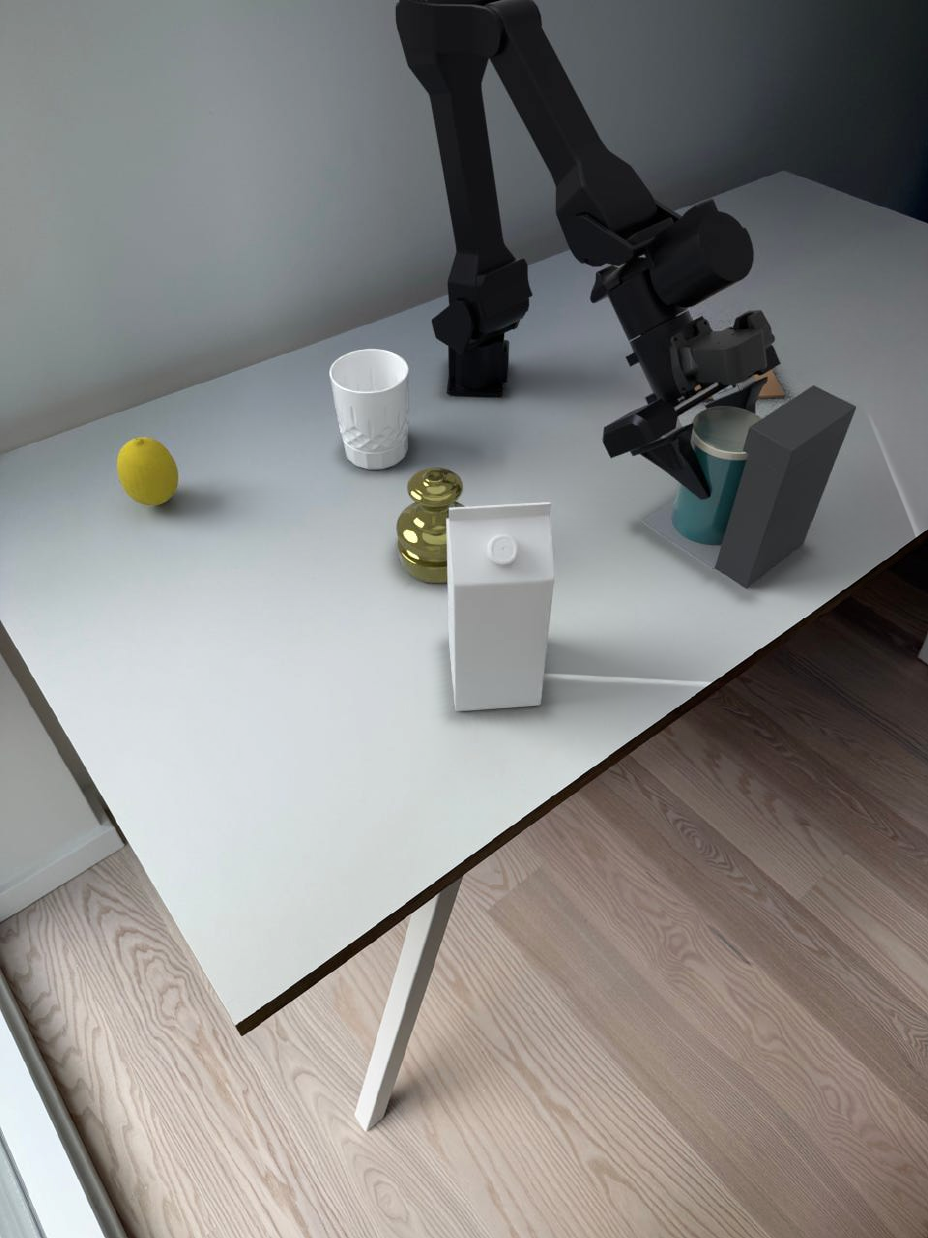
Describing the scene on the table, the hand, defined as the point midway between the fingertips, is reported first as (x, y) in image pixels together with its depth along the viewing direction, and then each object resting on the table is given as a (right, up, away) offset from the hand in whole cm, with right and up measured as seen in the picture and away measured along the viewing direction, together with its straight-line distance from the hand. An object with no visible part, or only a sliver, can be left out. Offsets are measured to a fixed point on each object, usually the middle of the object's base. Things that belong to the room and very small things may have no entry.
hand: (730, 481), depth 83 cm
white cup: (-34, +5, +14) cm, 37 cm away
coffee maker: (0, -5, +5) cm, 7 cm away
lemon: (-56, -1, +8) cm, 56 cm away
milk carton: (-22, -18, -7) cm, 29 cm away
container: (-1, -3, +5) cm, 6 cm away
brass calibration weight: (-27, -7, +3) cm, 28 cm away
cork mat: (+6, +17, +24) cm, 30 cm away
